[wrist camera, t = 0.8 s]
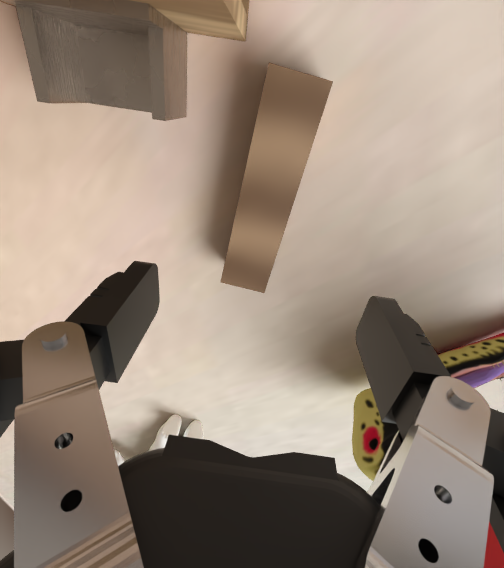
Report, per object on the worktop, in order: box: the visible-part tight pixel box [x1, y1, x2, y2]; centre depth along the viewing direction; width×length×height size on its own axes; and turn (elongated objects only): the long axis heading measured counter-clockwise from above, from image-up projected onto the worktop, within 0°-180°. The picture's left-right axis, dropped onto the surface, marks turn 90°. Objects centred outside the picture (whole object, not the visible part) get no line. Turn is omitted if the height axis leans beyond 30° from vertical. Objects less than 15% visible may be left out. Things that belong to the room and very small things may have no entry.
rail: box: [221, 63, 333, 293], centre depth 23 cm, size 16×4×4 cm, turn 166°
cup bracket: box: [1, 0, 187, 121], centre depth 18 cm, size 5×8×7 cm, turn 83°
